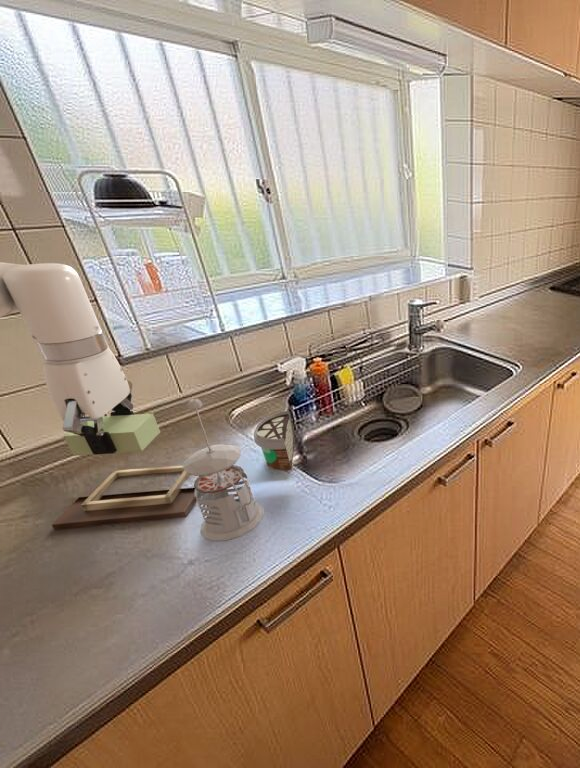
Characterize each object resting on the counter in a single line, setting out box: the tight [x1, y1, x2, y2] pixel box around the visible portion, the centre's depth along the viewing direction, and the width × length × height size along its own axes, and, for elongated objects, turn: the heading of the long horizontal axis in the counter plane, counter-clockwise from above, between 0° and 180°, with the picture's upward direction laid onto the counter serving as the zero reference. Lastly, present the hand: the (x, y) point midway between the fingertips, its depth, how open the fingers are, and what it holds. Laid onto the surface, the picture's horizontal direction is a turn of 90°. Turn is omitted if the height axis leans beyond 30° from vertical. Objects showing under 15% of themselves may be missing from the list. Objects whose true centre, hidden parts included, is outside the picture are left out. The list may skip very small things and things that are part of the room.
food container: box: [253, 409, 296, 471], centre depth 88 cm, size 12×6×10 cm, turn 21°
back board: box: [51, 464, 197, 530], centre depth 80 cm, size 20×15×3 cm
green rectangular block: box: [63, 413, 161, 457], centre depth 73 cm, size 10×6×4 cm, turn 101°
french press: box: [183, 398, 265, 542], centre depth 70 cm, size 10×12×25 cm
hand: (117, 440), depth 73 cm, fingers closed on green rectangular block, 6 cm apart
